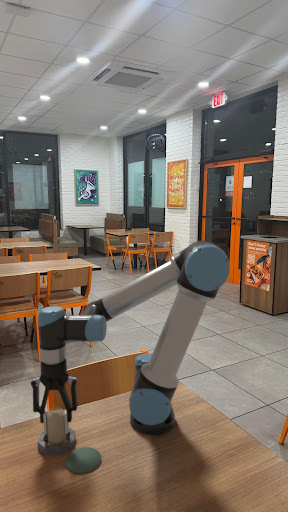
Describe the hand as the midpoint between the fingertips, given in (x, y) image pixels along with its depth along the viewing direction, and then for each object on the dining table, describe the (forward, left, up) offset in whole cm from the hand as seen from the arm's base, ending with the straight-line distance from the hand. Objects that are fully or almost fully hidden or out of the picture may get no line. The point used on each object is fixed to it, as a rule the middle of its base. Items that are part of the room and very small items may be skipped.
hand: (56, 431), depth 109 cm
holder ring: (0, 0, -4) cm, 4 cm away
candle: (0, 0, -3) cm, 3 cm away
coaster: (-9, +8, -4) cm, 13 cm away
